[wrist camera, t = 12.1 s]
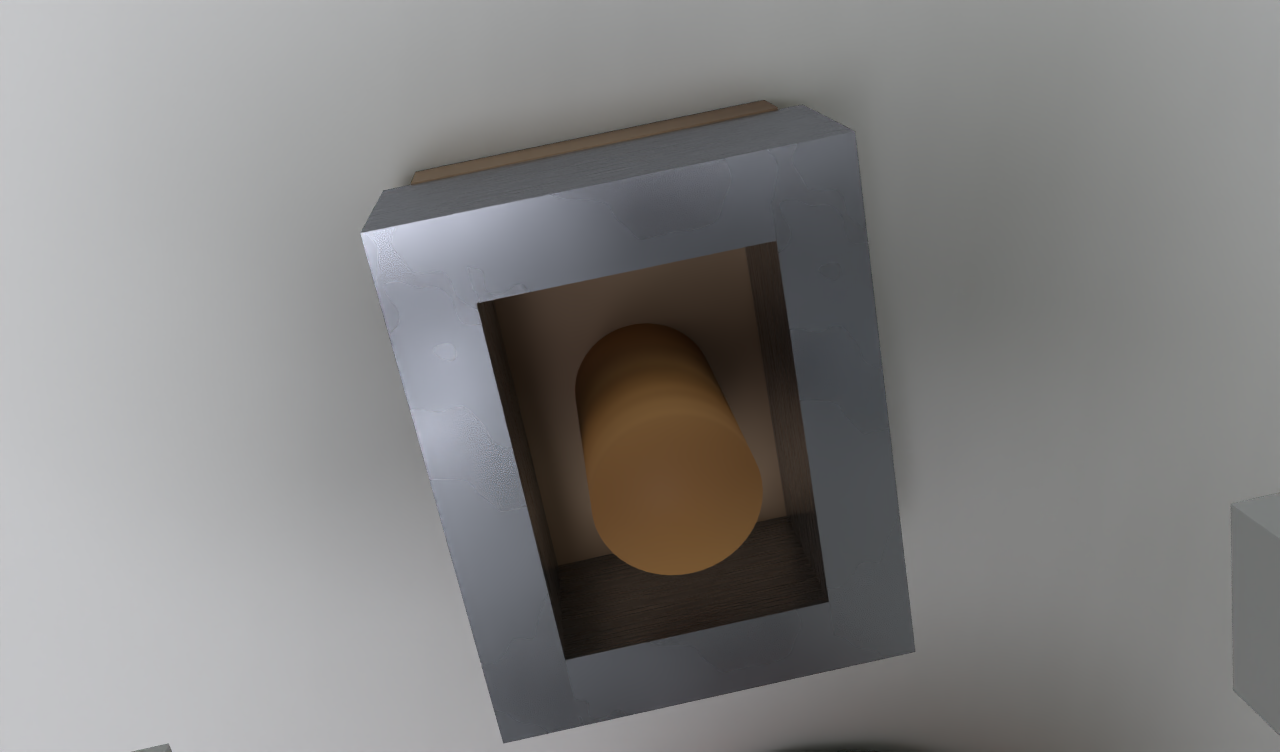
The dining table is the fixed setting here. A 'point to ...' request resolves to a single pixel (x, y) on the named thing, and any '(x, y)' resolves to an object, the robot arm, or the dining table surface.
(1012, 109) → the dining table surface
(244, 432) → the dining table surface
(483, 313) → the grey rectangular frame
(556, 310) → the keeper
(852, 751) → the beer stein
